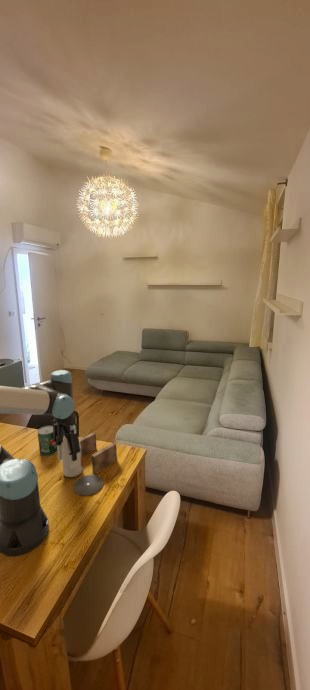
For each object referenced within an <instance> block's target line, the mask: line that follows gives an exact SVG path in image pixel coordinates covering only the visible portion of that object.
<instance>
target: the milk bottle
mask: <svg viewBox="0 0 310 690" xmlns="http://www.w3.org/2000/svg"><path fill="white" fill-rule="evenodd" d="M72 425H73V427H74V428H77V427H76V425H75V424H72ZM68 434H69V433H68ZM79 445H80V452H79V453H77V466H76V467H74V468H72V469H71V468H70V458H69V453H70V449H69V446H68V442H67V439H66V437H65V436H64V438H63V442H62V448H61V449H62V460H61V463H62V474H63V475H64V476H65V477H67V478H74V477H77V476H79V475H81V473H82V472H83V457H82V453H81V444H80V441H79Z"/></svg>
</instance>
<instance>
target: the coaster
mask: <svg viewBox="0 0 310 690" xmlns="http://www.w3.org/2000/svg"><path fill="white" fill-rule="evenodd" d="M103 486H104V481H103V478H102V477H100V476H99V475H97V474H86V475H83V476H81V477H79V478H78V479H76V481H74V484H73V490H74V492H75V493H76V494H77V495H79V496H83V497H85V496H86V497H87V496H92V495H95V494H96V493H98V492H100V490H101V489H103Z"/></svg>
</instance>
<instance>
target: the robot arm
mask: <svg viewBox="0 0 310 690" xmlns="http://www.w3.org/2000/svg"><path fill="white" fill-rule="evenodd" d="M49 375H50V376H49V378H50V379H47V380H44V381H40V382H36V383H33V384H32V383H31V384H28V385H25V386H23V387H14V386H8V385H6V386H5V385H0V414H3V415H4V414H8V415H9V414H10V415H36V416H37V415H38V416H53V419H52V426H53V442H56V445H57V450H58V451H57V460H58V462H60V461H62V449H61V448H62V442H63V440H64V437H66V439H67V442H68V446H69V449H70V453H69V458H70V468H71V469H72V468H74V467H76V466H77V453H79V452H80V445H79V439H80V438H79V434H78V433H79V428H78V427H76V428H74V427H73V425H74V424H73V421H74V419H75V410H74V409H75V401H74V393H73V378H72V373H71V372H70V371H69V370H65V369H59V370H55V371H53V372H51V373H50V374H49ZM68 433H69V434H68ZM38 477H39V476H38V473H37V469H36V466H35V464H34V463H33V462H32V461H30V460H28V459H26V458H21V459H20V458H15V457H14V456H13V455H12V454H11V453H10V452H9V451H7V450H6V449H5V448H4V446H2V445H1V444H0V554H2V555H4V556H7V557H15V556H21V555H25V554H27V553H30V552H31V551H33V550H34V549H35V548H37V547H39V545H40V544H42V543H43V541H44V540H45V539H46V537H47V535H48V533H49V529H50V526H49V519H48V518H49V517H48V516H47V514H46V513H45V511H44V509H43V507H42V506H41V499H40V491H39V489H40V488H39V481H38V480H39V478H38Z"/></svg>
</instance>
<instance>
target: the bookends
mask: <svg viewBox="0 0 310 690" xmlns="http://www.w3.org/2000/svg"><path fill="white" fill-rule="evenodd" d="M78 439H79V441H80V444H81V453H82V458H83V457H86V456H87V455H89V454H90V453H92V452H94V451H96V450H97V448H98V447H97V434H96V433H95V432H91V433H88V434H87V435H85V436H83V437H81V438H78ZM117 461H118V453H117V443H115V442H111V443H109V445H106V446H105V447H103V448H101V449H100V450H97V451H96V452H94V453H93V454H91V468H92V473H93V475H97V474H98V473H100V472H101V471H103V470H105V469H106V468H107V467H109V466H110V465H112V464H113V463H115V462H117Z"/></svg>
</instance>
